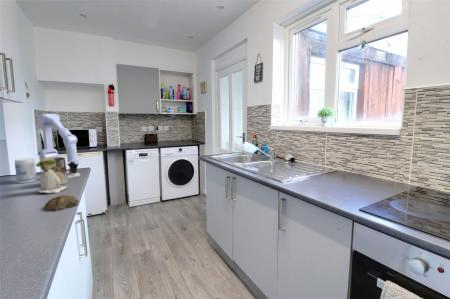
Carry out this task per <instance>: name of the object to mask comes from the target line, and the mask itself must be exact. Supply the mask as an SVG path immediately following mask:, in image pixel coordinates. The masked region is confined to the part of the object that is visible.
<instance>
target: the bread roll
mask: <svg viewBox="0 0 450 299" xmlns="http://www.w3.org/2000/svg"><path fill="white" fill-rule="evenodd" d="M79 202H80V201H79V199H78V198H76V197H75V196H73V195H70V194H68V195H67V194H66V195H65V194H64V195H63V194H62V195H59V196H55V197H54V198H51V199H50V200H48V201H47V202H46V203H45V204H44V211H45V212H53V211H54V212H55V211H56V212H59V211H64V210H67V209H71V208H74V207H76V206H78V205H79Z"/></svg>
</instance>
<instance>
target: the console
mask: <svg viewBox="0 0 450 299" xmlns="http://www.w3.org/2000/svg"><path fill="white" fill-rule="evenodd" d="M80 176H81V173H79V172H76V173H74V174H73V173H72V174H69V170H68V171H67V177H68V179H71V178H74V177H80Z"/></svg>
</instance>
